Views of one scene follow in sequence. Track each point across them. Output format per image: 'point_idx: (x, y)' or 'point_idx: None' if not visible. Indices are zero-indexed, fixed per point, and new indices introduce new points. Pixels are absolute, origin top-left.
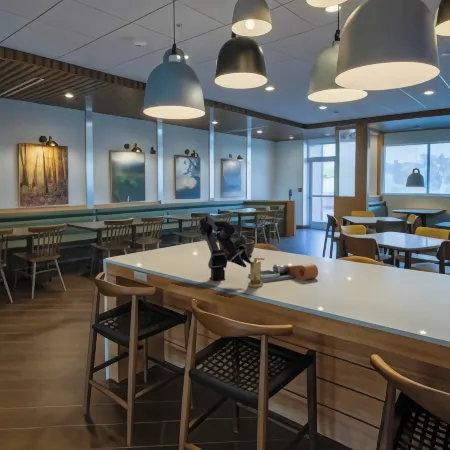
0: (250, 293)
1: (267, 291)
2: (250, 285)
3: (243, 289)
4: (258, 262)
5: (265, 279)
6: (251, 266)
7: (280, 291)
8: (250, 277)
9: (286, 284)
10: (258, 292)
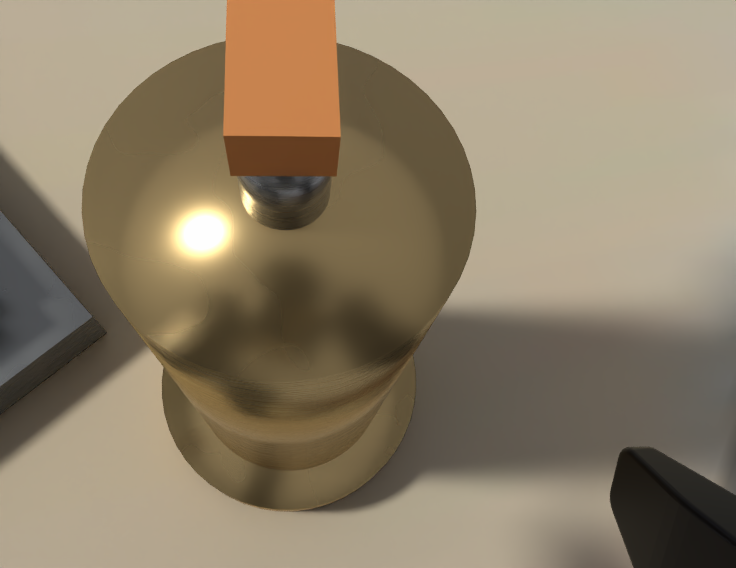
0: (724, 353)
1: (541, 169)
2: (399, 442)
3: (583, 514)
4: (382, 82)
5: (39, 258)
6: (418, 343)
7: (481, 37)
8: (344, 442)
9: (132, 4)
10: (632, 264)
